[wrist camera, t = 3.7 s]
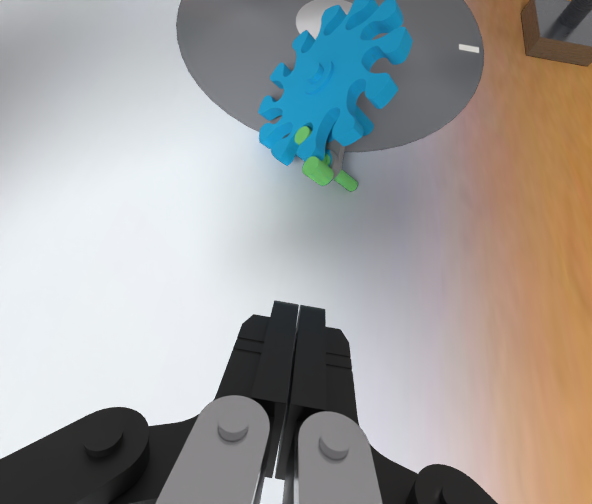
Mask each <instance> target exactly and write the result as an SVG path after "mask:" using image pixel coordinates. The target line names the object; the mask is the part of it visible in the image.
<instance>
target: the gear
mask: <svg viewBox="0 0 592 504" xmlns="http://www.w3.org/2000/svg"><path fill="white" fill-rule="evenodd" d="M402 24H403V14H402V11H401V9H400V8H399V6H398V4H397V2H396V0H385V1H384V2H383V3H382V4H381V5H380V6H378V4H377V3H376V1H375V0H354V2H353V4H352V7H351V9H350V11H349V13H348V14H347V15H346V14H345V12H344V11H343V9H342V8H341V7H340V5H335V6H332V7H330V8H328V9H326V10H325V11H324V13H323V15H322V18H321V28H320V31H319V34H318V36H317V38H316V40H315V39H314V38H313V36H312V35H311V34H310V33H309V32H308V31H307V30H305V31H304V32H302V33H301V34H300V35H299V36H298V37H297V38H296V39H295V40H294V41H293V43H292V48H293V49H294V50H295V51H296V63H295V67H294V70H293V71H291V70H290V69H289V68H288V67H287V66H286V65H285V64H284V63H282V62H281V63H280V64H279V65H278V66H277V67H276V68H275V70H274V71H273V73H272V74H271V76H270V80H271V81H272V82H273V83H274V84H275V85H277V86H278V87H279V88H280V89H283V88H284V93H283V95H282V97H281V98H280V99H279V100H278V101H276V100H275V99H273V98H272V97H271V96H270V95H267V96H265V97H264V99H263V100H262V102H261V105H260V107H259V111H258V113H259V114H260V115H261V116H263V117H264V118H265V119H267V120H268V121H271V120H273V119H274V118H276V117H278V116H281V115H282V117H281V119H280V120H279V121H278V122H277V123H276V124H271V123H266V124H264V125H263V126H262V127H261V128H260V133H259V140H260V143H262V144H263V145H265V146H266V147H267V148H269V149H271V148H272V149H271V152H272V154H273V156H274V157H275V158H276V159H277V160H279V161H280V162H282V163H283V164H285V165H286V166H288V165H289V164H290V163H291V162H292V161H293V160H294V158H295V155H296V153H297V156H298V157H299V158H301V159H302V160H303V161H305V163H304V165H303V169H302V170H303V173H304V174H305V175H306V176H308V177H309V178H310V179H312V180H313V181H315V182H316V183H318V184H319V185H321V186H325V185H327V184H328V183H330V181H332V180H333V179H334V180H335V181H336V182H338V183H339V184H341V185H342V186H343V187H345V188H346V189H347V190H349V191H354V190H355V189H356V188H357V186H358V183H357V181H356V180H354V179H353V178H352V177H351V176H349V175H348V174H347V173H346V172H344V171H343V170H342V169H341V168H342V163H343V157H344V150H345V146H348V145H350V144H352V143H354V142H355V141H357V140H358V139H360V138H361V137H362V136H366V135H368V134H370V133H371V132H372V130H373V128H374V124H373V123H372V121H371V120H370V119H369V118H368V117H367V116H366V115H365V114H364V113H363V111H362V110H361V109H360V108H359V107H358V106H357V105H356V102H357V99H358V97H359V95H360V94H361V93H362V92H363V91H365V96H366V97H367V98H368V99H369V101H370V102H371V103H372V104H373V105H374V107H375V108H377V109H382V108H383V107H384V106H386V105H387V104H388V103H389V102H390V100H391V99H392V98H393V97H394V95H395V94H396V93H397V91H398V90H399V89H398V87H397V85H396V84H395V82H394V81H393V80H392V78H391V77H390V75H389V74H388V73H371V72H370V69H371V67H372V65H373V64H374V63H375V62H376V61H377V60H378V59H380V58H387V59H388V60H389V62H390V63H391V64H393V65H398V64H401V63H403V62H404V61H405V60H406V58H407V56H408V54H409V52H410V49H411V46H412V42H413V40H412V38H411V36H410V34H409V32H408V31H407V29H406V27H400V26H401V25H402ZM381 33H388V34H387V35H385V36H383V37H381V38H378V39H375V40H372V39H373V38H374V37H375V36H376V35H378V34H381ZM290 132H291V133H290ZM288 133H290V134H289V135H288V136H287V137H285V138H283V137H284V136H285V135H287V134H288ZM282 138H283V139H282Z"/></svg>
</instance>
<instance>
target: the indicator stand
mask: <svg viewBox="0 0 592 504" xmlns="http://www.w3.org/2000/svg"><path fill="white" fill-rule="evenodd" d="M521 18H522V26H523V34H524V42H525V49H526V55H528V56H533V57H539V58H544V59H550V60H555V61H561V62H566V63H572V64H577V65H583V66H588V65H589V64H590V63H592V0H571V1H567V0H530V1H529V2H528V4H527V5H526V7H525V8H524V10H523V11H522V13H521Z"/></svg>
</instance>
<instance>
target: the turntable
mask: <svg viewBox="0 0 592 504" xmlns="http://www.w3.org/2000/svg"><path fill="white" fill-rule="evenodd" d="M375 1H376V3H377V4H378V6H380V5H381V4H382V3H383V2H384V1H385V0H375ZM353 2H354V0H181V3H180V6H179V9H178V16H177V24H176V26H177V40H178V44H179V47H180V51H181V55H182V58H183V60H184V62H185V64H186V66H187V68H188V71H189V72H190V74H191V75H192V77H193V78H194V80H195V81H196V83H197V84H198V86H199V87H200V88H201V89H202V90H203V91H204V92H205V94H206V95H207V96H208V97H209V98H210V99H211V100H212V101H213V102H214V103H215V104H217V105H218V106H219V107H220V108H221V109H223V110H224V111H225V112H226V113H227V114H229V115H230V116H232V117H234V118H235V119H237V120H238V121H240V122H241V123H243V124H245V125H246V126H248V127H250V128H252V129H254V130H256V131H258V132H260V128H261V127H262V126H263V125H264V124H266V123H271V124H276V123H277V122H278V121H279V120H280V119H281V117H282V115H281V116H278V117H276V118H274V119H273V120H271V121H268V120H267V119H265V118H264V117H263V116H261V115H260V114H259V113H258V111H259V107H260V105H261V102H262V100H263V99H264V97H265V96H267V95H270V96H271V97H272V98H273V99H275V100H276V101H278V100H279V99H280V98H281V97H282V95H283V93H284V88H283V89H280V88H279V87H278V86H277V85H275V84H274V83H273V82H272V81H271V80H270V76H271V74H272V73H273V71H274V70H275V68H276V67H277V66H278V65H279V64H280V63H281V62H282V63H284V64H285V65H286V66H287V67H288V68H289V69H290V70H291V71H293V70H294V67H295V63H296V51H295V50H294V49H293V48H292V43H293V41H294V40H295V39H296V38H297V37H298V36H299V35H300V34H301V33H302V32H304V31H305V30H307V31H308V32H309V33H310V34H311V35H312V36H313V38H314V39H315V40H316V38H317V36H318V34H319V31H320V28H321V18H322V15H323V13H324V11H325V10H326V9H328V8H330V7H332V6H335V5H340V7H341V8H342V9H343V11H344V12H345V14H346V15H347V14H348V13H349V11H350V9H351V7H352V4H353ZM396 2H397V4H398V6H399V8H400V9H401V11H402V14H403V24H402V25H401V26H400V27H406V29H407V31H408V32H409V34H410V36H411V38H412V40H413V42H412V46H411V49H410V52H409V54H408V56H407V58H406V60H405V61H404V62H403V63H401V64H398V65H393V64H391V63H390V62H389V60H388V59H387V58H380V59H378V60H377V61H376V62H375V63H374V64H373V65H372V67H371V69H370V72H371V73H388V74H389V75H390V77H391V78H392V80H393V81H394V82H395V84H396V85H397V87H398V89H399V90H398V91H397V93H396V94H395V95H394V97H393V98H392V99H391V100H390V102H389V103H388V104H387V105H386V106H384V107H383V108H382V109H377V108H375V107H374V105H373V104H372V103H371V102H370V101H369V99H368V98H367V97H366V96H365V91H363V92H362V93H361V94H360V95H359V97H358V99H357V102H356V105H357V106H358V107H359V108H360V109H361V110H362V111H363V113H364V114H365V115H366V116H367V117H368V118H369V119H370V120H371V121H372V123H373V124H374V128H373V130H372V132H371V133H370V134H368V135H366V136H362V137H361V138H360V139H358V140H357V141H355V142H354V143H352V144H350V145H348V146H345V150H344V152H366V151H376V150H384V149H388V148H393V147H397V146H402V145H405V144H408V143H411V142H413V141H416V140H419V139H422V138H424V137H426V136H428V135H429V134H431V133H433V132H435V131H437V130H439V129H440V128H442V127H443V126H444V125H446V124H447V123H449V122H450V121H451V120H453V119H454V118H455V117H456V116H457V115H458V114H459V113H460V112H461V111H462V110H463V109H464V108H465V106H466V105H467V103H468V102H469V100H470V99H471V97H472V96H473V94H474V93H475V91H476V88H477V86H478V84H479V81H480V79H481V74H482V70H483V63H484V49H483V43H482V37H481V34H480V31H479V28H478V25H477V22H476V20H475V18H474V16H473V14H472V12H471V10H470V9H469V8H468V6H467V5H466V3H465V2H464V0H396ZM387 34H388V33H381V34H378V35H376V36H375V37H374V38H373V39H372V40H375V39H378V38H381V37H383V36H385V35H387ZM290 133H291V132H290ZM290 133H288V134H287V135H285V136H284V137H283V138H285V137H287V136H288V135H289V134H290ZM283 138H282V139H283Z"/></svg>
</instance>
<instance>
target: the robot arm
mask: <svg viewBox="0 0 592 504" xmlns="http://www.w3.org/2000/svg"><path fill="white" fill-rule="evenodd" d="M298 306H299V305H298V304H292V303H286V302H281V301H274V304H273V308H272V313H271V317H266V316H260V315H254V314H253V315H252V316H251V317H250V318H249V319H248V320H246V321H245V322H244V323H243V324H242V326H241V329H240V332H239V334H238V337H237V340H236V343H235V345H234V348H233V351H232V353H231V356H230V359H229V362H228V364H227V367H226V370H225V372H224V375H223V378H222V381H221V383H220V386H219V389H218V392H217V394H216V396H215V399H214V400H213V401H212V402H211V403H209V404H208V405H207V406H206V407H205V408H204V409H203V410H202V411H201V413H200V414H199V415H197V416H195V417H193V418H191V419H189V420H185V421H182V422H177V423H171V424H163V425H155V426H148V423H147V421H146V419H145V418H144V417H143V416H142V415H141V414H140V413H139V412H137V411H135V410H133V409H130V408H125V407H112V408H106V409H102V410H99V411H96V412H94V413H92V414H89V415H87V416H85V417H83V418H81V419H79V420H77V421H75V422H73V423H71V424H69V425H67V426H65V427H64V428H62V429H60V430H58V431H56V432H54V433H52V434H50V435H48V436H46V437H44V438H42V439H40V440H38V441H36V442H34V443H32V444H30V445H28V446H26V447H24V448H22V449H20V450H18V451H16V452H14V453H12V454H10V455H8V456H6V457H4V458H2V459H0V504H259V503H260V499H261V493H262V488H263V483H264V477H269V478H272V475H273V471H274V466H275V461H276V456H277V451H278V446H279V451H278V458H277V466H276V474H275V478H276V479H282V480H285V483H284V493H283V503H282V504H498V503H497V502H495V501H494V500H493V499H492V498H491V497H490V496H489V495H488V494H487V493H486V492H485V491H484V490H483V489H482V488H481V487H480V486H479V485H478V484H477V483H476V482H475V481H474V480H472V479H471V478H470V477H469V476H467V475H466V474H464V473H463V472H461V471H459V470H457V469H455V468H453V467H450V466H447V465H441V464H432V465H429V466H426V467H425V468H423V469H422V470H421V471H420V472H419V474H417V473H415V472H413V471H411V470H409V469H407V468H405V467H403V466H401V465H399V464H397V463H395V462H393V461H391V460H389V459H387V458H386V457H384V456H383V455H381V454H380V453H379V452H377V451H376V450H375V449H374V448H373V447H372V446H371V445H370V444H369V441H368V439H367V437H366V435H365V433H364V432H363V430H362V429H361V428H360V426H359V423H358V417H357V409H356V400H355V391H354V382H353V373H352V365H351V359H350V357H351V356H350V347H349V342H348V340H347V339H346V337H345V336H344V334H343V333H342V331H341V329H335V328H330V327H325V309H321V308H316V307H310V306H304V305H300V310H299V315H298ZM297 315H298V320H297ZM296 323H297V325H296ZM279 441H280V443H279Z"/></svg>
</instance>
